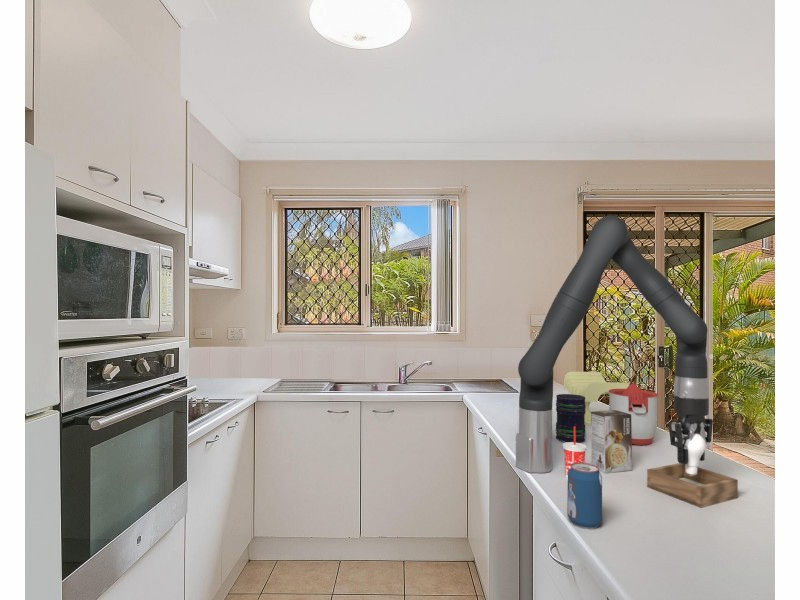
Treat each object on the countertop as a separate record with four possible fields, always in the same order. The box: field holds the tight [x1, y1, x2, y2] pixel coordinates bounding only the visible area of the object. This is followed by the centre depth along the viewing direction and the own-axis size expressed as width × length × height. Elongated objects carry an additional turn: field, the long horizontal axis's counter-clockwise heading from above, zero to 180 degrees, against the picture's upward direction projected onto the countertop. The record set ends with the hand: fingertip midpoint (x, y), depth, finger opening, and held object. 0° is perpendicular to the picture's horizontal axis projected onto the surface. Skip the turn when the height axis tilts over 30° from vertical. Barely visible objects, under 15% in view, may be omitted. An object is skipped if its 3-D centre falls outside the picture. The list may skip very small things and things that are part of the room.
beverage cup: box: [562, 426, 587, 481], centre depth 129 cm, size 6×6×14 cm
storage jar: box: [555, 393, 586, 444], centre depth 168 cm, size 10×10×15 cm
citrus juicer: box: [608, 383, 659, 446], centre depth 166 cm, size 16×17×20 cm
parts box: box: [646, 462, 739, 508], centre depth 121 cm, size 14×14×4 cm
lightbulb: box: [682, 433, 707, 476], centre depth 121 cm, size 6×6×11 cm
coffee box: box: [590, 410, 633, 474], centre depth 138 cm, size 9×6×16 cm
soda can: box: [566, 462, 603, 530], centre depth 103 cm, size 7×7×12 cm
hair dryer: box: [563, 371, 630, 425], centre depth 198 cm, size 30×16×18 cm, turn 176°
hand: (691, 461), depth 121 cm, fingers closed on lightbulb, 6 cm apart
